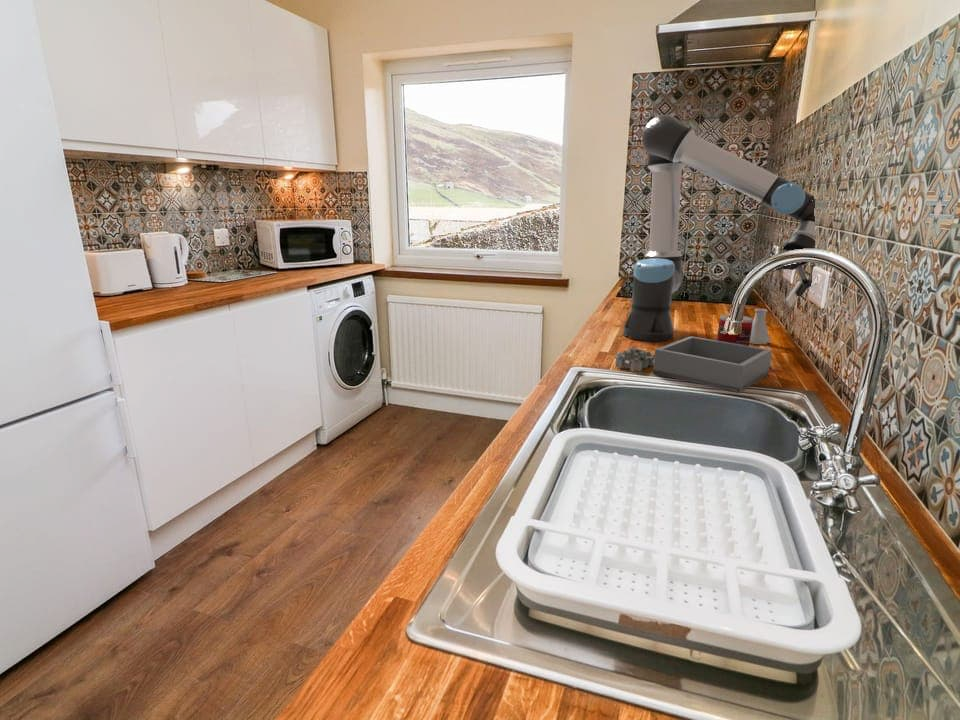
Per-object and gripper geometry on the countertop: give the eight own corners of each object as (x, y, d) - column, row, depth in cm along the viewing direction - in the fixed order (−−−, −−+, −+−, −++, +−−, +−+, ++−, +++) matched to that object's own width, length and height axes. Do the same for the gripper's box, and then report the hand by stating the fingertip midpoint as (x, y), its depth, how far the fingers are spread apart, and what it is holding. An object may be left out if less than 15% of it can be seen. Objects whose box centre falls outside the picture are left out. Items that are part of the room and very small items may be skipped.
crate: (687, 358, 144) (690, 336, 143) (768, 373, 131) (772, 349, 130) (652, 373, 130) (655, 349, 129) (739, 392, 117) (743, 366, 116)
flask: (754, 345, 159) (759, 312, 156) (737, 340, 166) (742, 307, 163) (775, 344, 160) (780, 311, 158) (757, 339, 167) (762, 307, 164)
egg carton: (637, 373, 131) (638, 357, 130) (610, 367, 136) (611, 351, 135) (658, 364, 139) (659, 349, 138) (632, 359, 144) (633, 344, 143)
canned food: (716, 352, 151) (721, 313, 148) (748, 356, 147) (754, 316, 144) (712, 358, 144) (718, 318, 141) (745, 363, 140) (752, 321, 137)
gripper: (856, 254, 142) (814, 316, 138) (765, 248, 162) (727, 302, 159) (849, 234, 138) (805, 297, 134) (757, 230, 158) (718, 285, 155)
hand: (763, 300), depth 147 cm, fingers open, 13 cm apart
